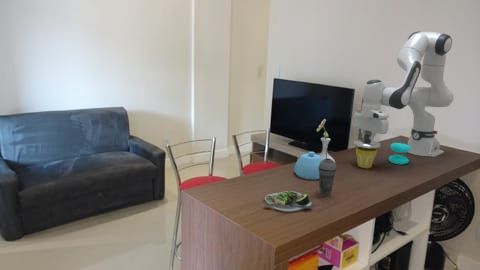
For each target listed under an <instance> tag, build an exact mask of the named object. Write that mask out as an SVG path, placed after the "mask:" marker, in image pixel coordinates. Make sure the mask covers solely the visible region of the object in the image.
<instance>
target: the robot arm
mask: <svg viewBox="0 0 480 270" xmlns="http://www.w3.org/2000/svg"><path fill="white" fill-rule="evenodd" d="M452 46H453V38H452V36H451V35H450V34H446V33H440V32H437V31H436V32H435V31H415V32H412V33H411V34H409V36H408V38H407V40H406V41H405V43H404V45H403V46H402V47H401V49H400V50H399V52H398V54H397V57H396V63H397V64H398V66H399V67H400V68H401V69H402V70H403V71H404V72H406V74H405V76H404V79H403V81H402V83H401V85H400V86H399V87H391V86H388V85H386V84H384V83H383V81H382V80H379V79H370V80H368V81H366V82H365V85H364V88H363V94H362V98H363V105H362V104H361V107H362V111H361V109H356V110H354V112H353V117H352V120H351V121H352V123H351V126H352V127H353V128H357V129H358V130H359V129H361V133H362V138H365V135H366V134H365V131H366V130H367V131H371V132H372V136H370V137H369V140H372V141H375V140H374V139H375V136H376V135H378V134H379V135H386V134H388V131H389V120H388V118H390V117H389V113H387V112H385V110H382V109H381V107H382V106H385V107H390V108H393V109H396V110H402V109H404V108H405V107H407V106H408V107H409V108H410V109H411V111H412V114H413V123H412V128H411V132H410V136H409V137H408V142H407V145H409V146H410V151H408V152H407V153H409V154H411V155H414V156H420V157H433V158H436V157H438V156H439V155H442V154H444V150H442V149H441V142H440V141H439V140H438V139H437V138H436V137H435V136H436V135H438V130H435V123H436V118H435V116H434V115H433V114H432V113H430V112H429V111H427V110H426V107H429V108H446V107H449V106H451V104H452V103H453V102H454V93H453V91H452V90H451V89H449V87H448V86H447V85H446V84H445V81H444V72H445V65H446V58H447V53H448V52H449V51H450V50H451V48H452ZM421 61H422V64H421ZM419 75H420V78H421V79H422V80H423V81H425V82H426V83H428V84H430V87H428V86H426V87H425V86H415V85H416V83H417V81H418V79H419Z"/></svg>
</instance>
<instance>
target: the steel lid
mask: <svg viewBox="0 0 480 270" xmlns="http://www.w3.org/2000/svg"><path fill="white" fill-rule="evenodd" d="M370 136H371V135H367V134H366V135H365V138H364V140H357V139H355V140H354V141H353V144H354V146H355V147H356V146H358V147H362V148H376V149H379V148H381V145H382V144H381V142H378V141H376V140H369V137H370Z"/></svg>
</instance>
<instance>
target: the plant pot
mask: <svg viewBox="0 0 480 270" xmlns="http://www.w3.org/2000/svg"><path fill="white" fill-rule="evenodd" d="M355 154H356V159H357V160H356V161H357V166H358V167H359V168H363V169H370V168H372V166H373V164H374V163H373V162H374V159H375V157H377V154H378V148H362V147H358V146H357V147H356V146H355Z"/></svg>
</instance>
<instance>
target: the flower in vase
mask: <svg viewBox="0 0 480 270" xmlns="http://www.w3.org/2000/svg"><path fill="white" fill-rule="evenodd" d="M326 121H327V120H326V118H324V119H323V120H322V121H321V123H320V124H319V125H318V128H316V132H317V133H319V131H320V130H321V129H323V130H324V132H323V136H322V137H321V138H320V140H321V142H322V150H321V152H320V154H318V155H319V156H321V158H322V160H323V159H326V148H327V149H328V145H329V143H330V141H331V138H329V134H328V132H327V131H326V128H325V126H324V125H325V123H326ZM327 158H329V159H331V160H333V161H334V162H335V163H336V161H335V159H334V158H333V157H332V156H331V155H330V153H328V152H327Z"/></svg>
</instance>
